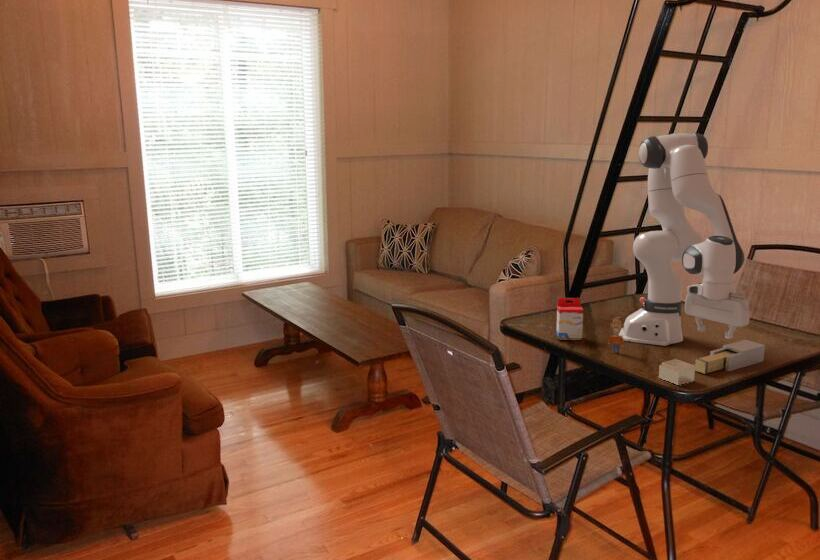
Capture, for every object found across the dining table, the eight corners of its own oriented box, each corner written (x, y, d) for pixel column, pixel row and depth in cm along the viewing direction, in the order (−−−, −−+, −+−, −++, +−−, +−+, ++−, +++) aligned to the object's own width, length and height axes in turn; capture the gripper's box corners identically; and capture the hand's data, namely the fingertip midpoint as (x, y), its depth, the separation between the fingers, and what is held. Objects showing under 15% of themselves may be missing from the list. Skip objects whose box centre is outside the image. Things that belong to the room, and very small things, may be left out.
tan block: (740, 357, 217) (741, 346, 216) (750, 360, 214) (751, 349, 213) (694, 370, 207) (695, 358, 206) (704, 373, 204) (705, 362, 203)
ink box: (558, 341, 239) (559, 301, 236) (555, 336, 244) (557, 297, 240) (582, 340, 239) (584, 301, 235) (579, 336, 243) (580, 297, 240)
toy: (606, 352, 226) (608, 316, 223) (609, 350, 228) (610, 314, 225) (622, 355, 223) (624, 318, 220) (624, 352, 225) (626, 316, 223)
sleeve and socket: (743, 355, 221) (745, 339, 219) (763, 361, 215) (765, 345, 213) (658, 378, 202) (659, 361, 200) (677, 386, 196) (679, 368, 194)
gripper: (756, 295, 194) (752, 341, 197) (696, 283, 212) (693, 326, 215) (742, 298, 191) (738, 344, 194) (682, 286, 209) (680, 329, 212)
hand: (714, 334), depth 204 cm, fingers open, 8 cm apart
